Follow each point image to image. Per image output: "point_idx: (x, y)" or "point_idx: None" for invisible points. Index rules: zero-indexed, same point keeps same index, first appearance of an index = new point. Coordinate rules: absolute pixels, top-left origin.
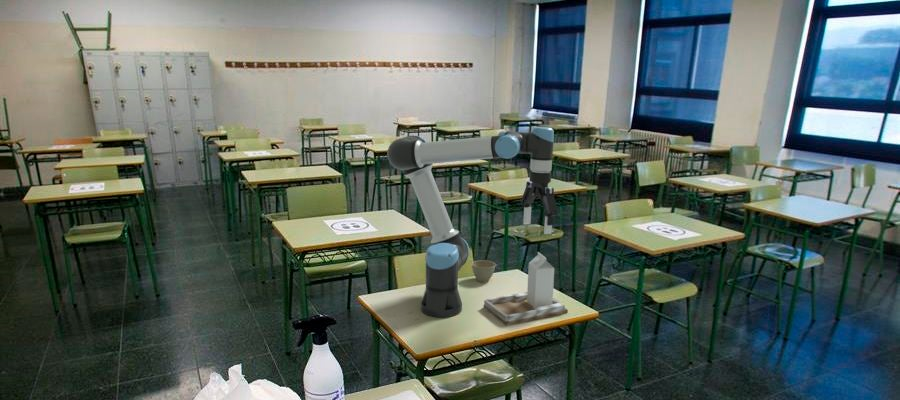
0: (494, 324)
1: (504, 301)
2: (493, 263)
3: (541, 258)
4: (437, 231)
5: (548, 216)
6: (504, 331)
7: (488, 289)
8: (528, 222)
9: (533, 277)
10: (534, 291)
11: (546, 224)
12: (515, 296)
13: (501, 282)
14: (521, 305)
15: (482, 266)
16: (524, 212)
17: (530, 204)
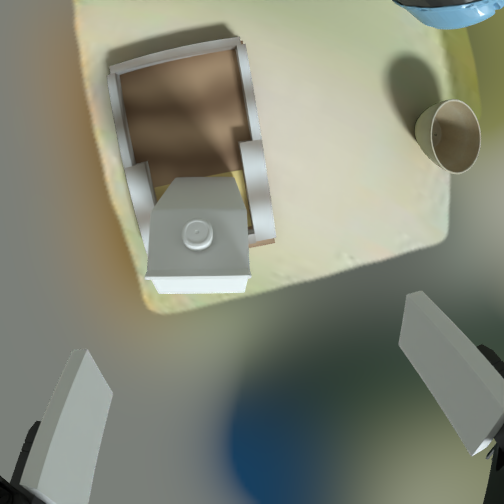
0: (128, 44)
1: (245, 106)
2: (456, 171)
3: (193, 266)
4: None
5: (26, 491)
6: (86, 61)
7: (366, 112)
8: (408, 338)
9: (183, 197)
10: (173, 187)
11: (49, 420)
12: (244, 142)
13: (399, 172)
14: (207, 148)
15: (465, 146)
16: (480, 365)
17: (492, 470)
